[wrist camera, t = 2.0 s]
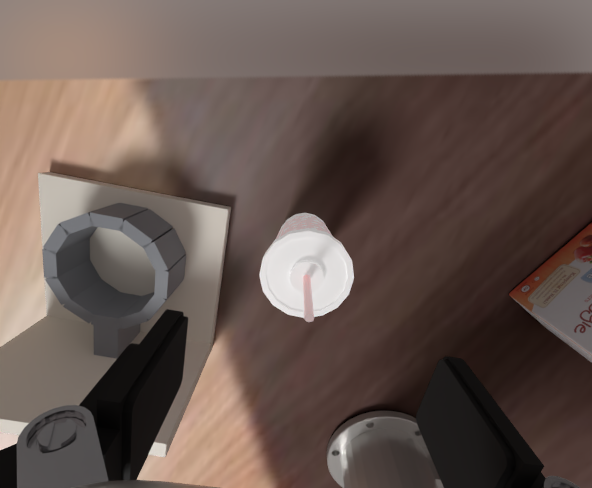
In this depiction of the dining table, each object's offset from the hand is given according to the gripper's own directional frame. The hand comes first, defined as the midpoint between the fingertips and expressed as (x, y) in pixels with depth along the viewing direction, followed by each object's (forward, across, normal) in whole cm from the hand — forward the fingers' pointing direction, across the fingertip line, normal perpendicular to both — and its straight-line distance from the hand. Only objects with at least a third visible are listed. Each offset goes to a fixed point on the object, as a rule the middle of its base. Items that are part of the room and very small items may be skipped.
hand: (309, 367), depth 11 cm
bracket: (+18, +15, +7) cm, 24 cm away
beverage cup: (+18, 0, +1) cm, 18 cm away
